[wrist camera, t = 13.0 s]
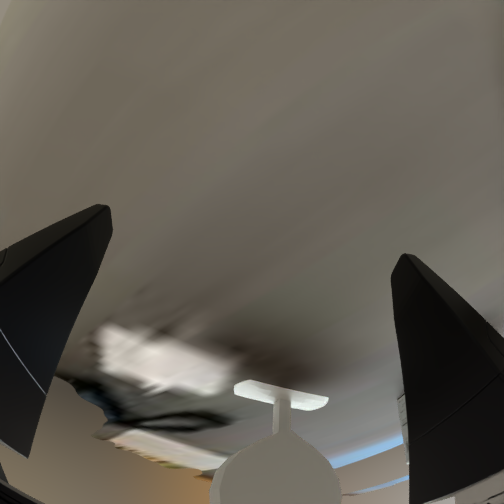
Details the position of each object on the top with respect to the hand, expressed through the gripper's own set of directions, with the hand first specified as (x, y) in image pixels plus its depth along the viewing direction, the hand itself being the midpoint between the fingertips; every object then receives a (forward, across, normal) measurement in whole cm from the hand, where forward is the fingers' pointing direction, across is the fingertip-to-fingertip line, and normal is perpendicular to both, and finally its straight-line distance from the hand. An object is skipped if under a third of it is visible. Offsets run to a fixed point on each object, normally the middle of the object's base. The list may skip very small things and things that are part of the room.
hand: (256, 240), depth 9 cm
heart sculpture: (+12, -8, +33) cm, 36 cm away
